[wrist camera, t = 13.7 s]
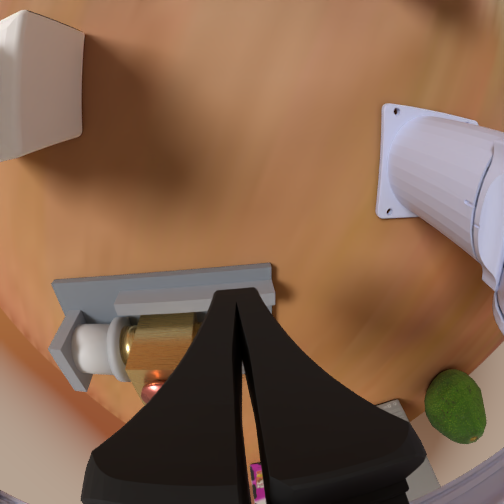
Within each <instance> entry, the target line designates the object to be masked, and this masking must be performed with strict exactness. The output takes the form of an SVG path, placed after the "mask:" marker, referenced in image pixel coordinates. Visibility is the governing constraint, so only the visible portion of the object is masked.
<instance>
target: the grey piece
mask: <svg viewBox="0 0 504 504" xmlns="http://www.w3.org/2000/svg"><path fill="white" fill-rule="evenodd" d="M51 284H52V287H53V289H54V291H55V294H56V296H57V298H58V301H59V303H60V305H61V307H62V310H63V312H64V314H65V316H66V317H65V318H64V320H63V322H62V324H61V326H60V327H59V329H58V331H57V333H56V335H55V337H54V339H53V340H52V342H51V344H50V346H49V348H48V350H49V352H50V353H51V355H52V357H53V358H54V360H55V361H56V363H57V365H58V366H59V368H60V369H61V371H62V372H63V374H64V375H65V377H66V378H67V380H68V381H69V383H70V384H71V385H72V387H73V388H74V390H75V391H84V392H87V390H88V387H89V384H90V381H91V378H92V375H93V374H106V375H114V376H115V377H116V379H117V380H119V381H121V382H131V380H130V378H129V376H128V374H127V373H126V371H125V368H126V366H125V365H124V363H123V361H122V358H121V354H120V348H119V338H120V333H121V330H122V328H123V327H124V326H129V325H138V322H139V319H140V315H151V314H170V313H187V312H196V315H197V320H198V322H203V320H204V318H205V316H206V313H207V311H208V309H209V306H210V304H211V301H212V298H213V294H214V293H215V292H216V291H217V290H226V289H238V288H249V287H254V288H256V289H257V290H258V292H259V294H260V296H261V298H262V300H263V302H264V303H265V305H266V306H267V308H268V309H269V311H270V312H271V314H272V305H275V290H274V287H273V283H272V280H271V264H270V263H261V264H250V265H238V266H227V267H215V268H203V269H191V270H179V271H166V272H153V273H140V274H127V275H113V276H99V277H85V278H71V279H56V280H54V281H53V282H52V283H51ZM242 374H245V371H244V366H243V361H242Z"/></svg>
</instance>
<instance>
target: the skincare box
mask: <svg viewBox="0 0 504 504" xmlns="http://www.w3.org/2000/svg"><path fill="white" fill-rule="evenodd" d="M377 407H379V408H381V409H383V410H385V411H387V412H389V413H391V414H393V415H395V416H397V417H399V418H401V419H404V420H406V421H408V422H409V420H408V418H407V416H406V414H405V412H404V410H403V408H402V406H401V404H400V402H399V400H398V399H397V400H393V401H390V402H387V403H384V404H381V405H377ZM409 423H410V422H409ZM406 480H407V483H408V486H409V490H408V491H407V492H405V493H406V495H407V498H408V501H409V502H411V501H413V500H415V499H417V498H419V497H422V496H424V495H426V494H428V493H430V492H432V491H434V490H436V489H438V488H440V487H441V486H440V484H439V482H438V480H437V478H436V476H435V473H434V471H433V469H432V467H431V465H430V463H429V460H428V458H427V456H426V458H425V460H424V462H423V463H422V464H421V465H420V466H419V467H418V468H417V469H416V470H415V471H414V472H413V473H412V474H410V475H409V476H408V477H407V478H406Z"/></svg>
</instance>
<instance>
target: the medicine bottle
mask: <svg viewBox="0 0 504 504" xmlns="http://www.w3.org/2000/svg"><path fill="white" fill-rule="evenodd" d="M84 38H85V35H84V33H83V32H82V31H80V30H78V29H75V28H73V27H70V26H68V25H66V24H63V23H61V22H58V21H56V20H53V19H50V18H48V17H45V16H42V15H40V14H37V13H34V12H31V11H28V10H21V11H19V12H17V13H15V14H13V15H11V16H9V17H7V18H5V19H3V20H1V21H0V162H2V161H6V160H10V159H15V158H19V157H21V156H24V155H26V154H29V153H32V152H34V151H37V150H40V149H43V148H46V147H48V146H51V145H54V144H57V143H60V142H64V141H67V140H70V139H73V138H77V137H79V136H80V135H81V134H82V65H83V50H84Z"/></svg>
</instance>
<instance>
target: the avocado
mask: <svg viewBox="0 0 504 504" xmlns="http://www.w3.org/2000/svg"><path fill="white" fill-rule="evenodd" d="M425 412H426V415H427V417H428V419H429V421H430V423H431V425H432V426H433V427H434V428H435V429H437V430H438V431H439V432H440V433H442V434H443V435H444V436H446V437H447V438H449V439H450V440H452V441H454V442H457V443H460V444H469V443H473V442H476V441H477V440H478V439H479V438H480V437H481V436H482V434H483V432H484V429H485V426H486V414H485V409H484V404H483V399H482V394H481V390H480V388H479V387H478V385H477V384H476V383H475V381H474V380H473V379H472V378H471V377H469V376H468V375H467V374H466V373H464V372H462V371H460V370H456V369H450V370H446V371H444V372H441V373H439V374H438V376H437V377H436V378H435V379H434V380H433V381H432V383H431V385H430V386H429V388H428V389H427V392H426V395H425Z"/></svg>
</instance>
